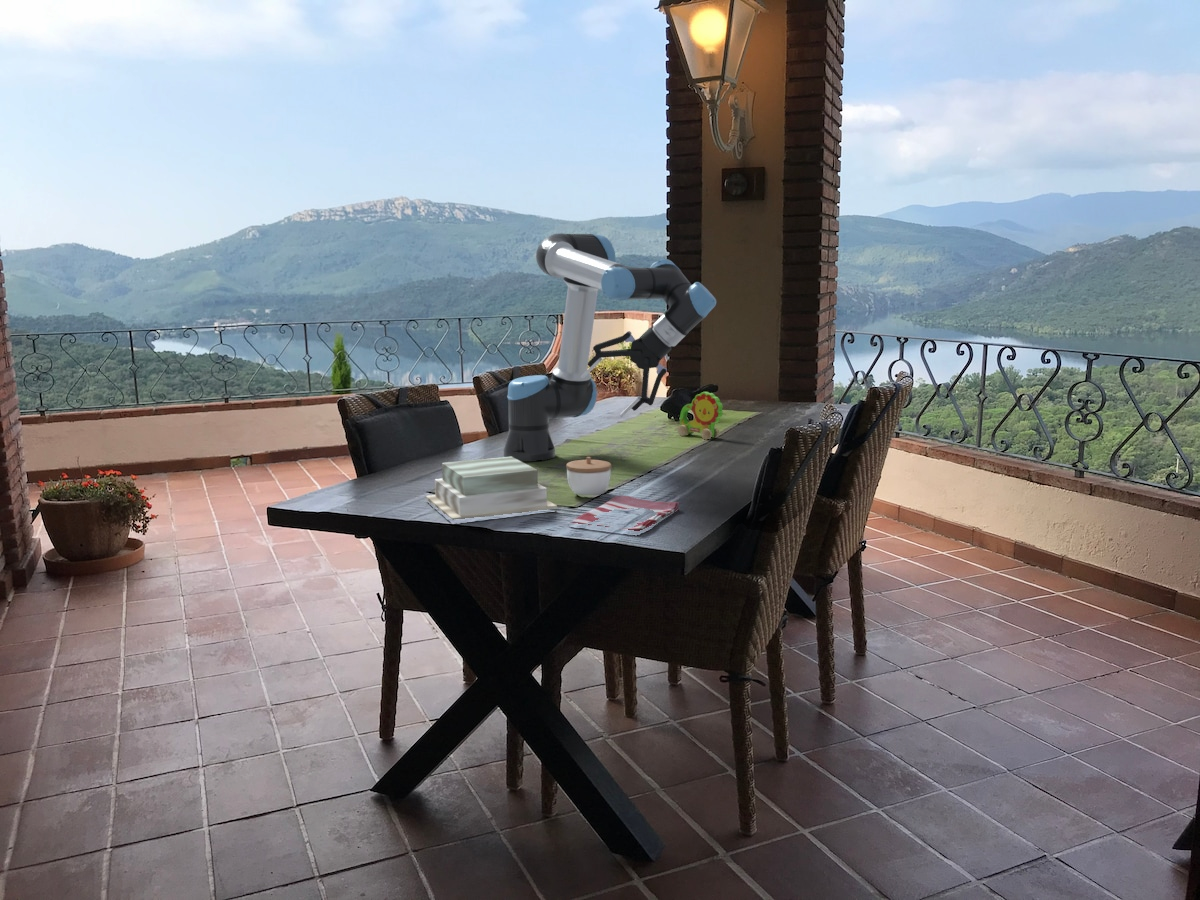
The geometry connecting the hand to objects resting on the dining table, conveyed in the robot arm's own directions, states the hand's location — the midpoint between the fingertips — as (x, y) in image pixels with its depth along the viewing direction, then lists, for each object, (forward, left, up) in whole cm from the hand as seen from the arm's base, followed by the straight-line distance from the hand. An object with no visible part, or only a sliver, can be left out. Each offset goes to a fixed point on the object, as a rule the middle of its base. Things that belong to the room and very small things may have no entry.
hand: (601, 396), depth 220 cm
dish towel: (+32, -10, -23) cm, 40 cm away
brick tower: (+10, -33, -22) cm, 41 cm away
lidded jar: (+10, -8, -23) cm, 26 cm away
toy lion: (-45, +58, -23) cm, 77 cm away
